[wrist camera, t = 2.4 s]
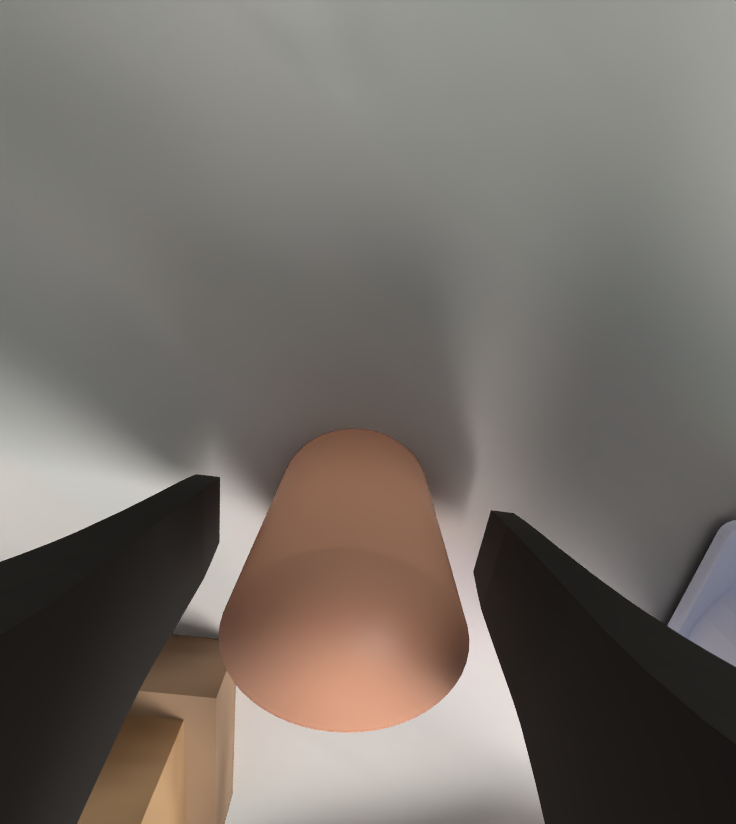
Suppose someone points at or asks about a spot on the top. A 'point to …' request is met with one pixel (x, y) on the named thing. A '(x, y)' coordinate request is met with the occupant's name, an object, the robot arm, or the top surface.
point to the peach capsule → (347, 592)
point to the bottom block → (196, 719)
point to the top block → (141, 776)
